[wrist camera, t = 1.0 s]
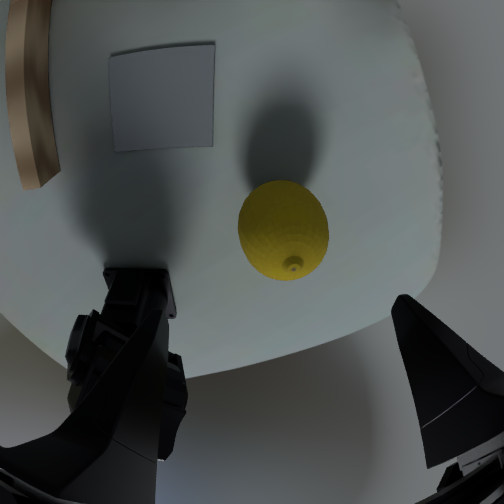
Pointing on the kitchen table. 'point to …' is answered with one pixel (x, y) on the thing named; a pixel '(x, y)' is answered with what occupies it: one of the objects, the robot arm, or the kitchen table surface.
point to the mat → (162, 98)
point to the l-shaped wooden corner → (30, 92)
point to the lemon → (283, 230)
